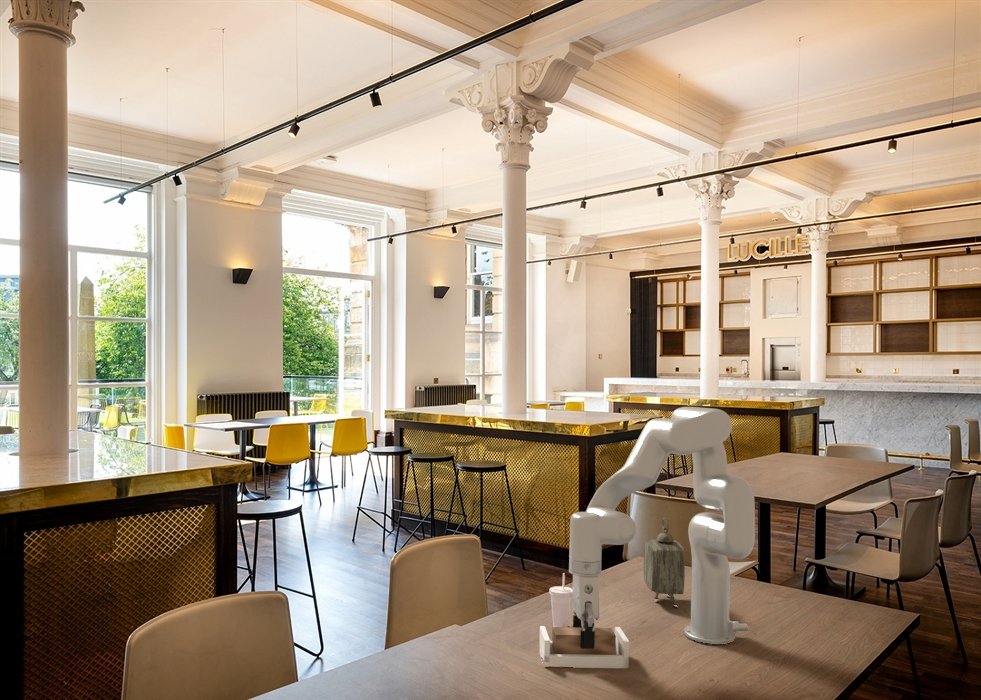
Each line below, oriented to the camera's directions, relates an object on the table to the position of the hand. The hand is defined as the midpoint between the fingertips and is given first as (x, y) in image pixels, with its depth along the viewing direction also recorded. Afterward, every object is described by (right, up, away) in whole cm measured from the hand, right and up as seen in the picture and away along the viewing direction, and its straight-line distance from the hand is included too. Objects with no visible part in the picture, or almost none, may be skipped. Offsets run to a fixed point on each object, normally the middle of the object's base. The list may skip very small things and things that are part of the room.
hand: (583, 640), depth 165 cm
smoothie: (-3, -6, +22) cm, 23 cm away
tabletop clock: (+30, -8, +45) cm, 55 cm away
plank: (0, -3, 0) cm, 3 cm away
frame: (0, -5, 0) cm, 4 cm away
